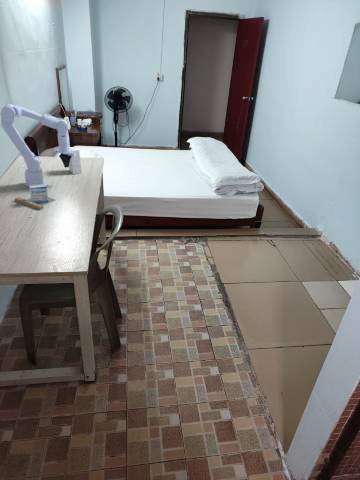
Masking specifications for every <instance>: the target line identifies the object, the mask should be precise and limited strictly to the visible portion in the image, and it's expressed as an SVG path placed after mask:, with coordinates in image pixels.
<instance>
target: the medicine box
mask: <svg viewBox="0 0 360 480" xmlns="http://www.w3.org/2000/svg"><path fill="white" fill-rule="evenodd" d="M46 184H47V183H46ZM46 184H39V185H29V186H28V187H29V188H28V189H29V191H30V198H31V200H32V202H34V203H36V204H37V203H44V202H49V200H48V197H49V194H48V188H47V185H46Z"/></svg>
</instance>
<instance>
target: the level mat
mask: <svg viewBox="0 0 360 480" xmlns="http://www.w3.org/2000/svg"><path fill="white" fill-rule="evenodd" d="M48 200H49V202H44V203H37V204H36V203H34V202H32V200H31V197H30V198H27V199H25V198H22V197H19V196H18V197H17V196H16V197H15V198H14V201H15V202H17V203H20V204H23V205H25V206H28V207H31V208H34V209H37V210H40V211H42V210H43V209H44V206H46V205H48V204H50V203H52V202H54V201H56V199H54V198H51V197H49V196H48Z"/></svg>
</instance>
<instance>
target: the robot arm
mask: <svg viewBox="0 0 360 480" xmlns="http://www.w3.org/2000/svg"><path fill="white" fill-rule="evenodd" d="M16 117H17V118H21V117H26V118H29V119H33V120H36V121H39V122H41V125H43V126H46V127H49V128H51V129H56V130H57V142H58V148H57V147H55V148H54V149H53V150H54V153H57V154H59V155H58V157H59V158H60V160H61V162H62V163H63V167H64V168H65V169H66V168H69V162H70V159H71V157H76V153H74V152H72V151H71V150H70V148H71V146H70V135H69V130H68V129H69V125H68V121H66V120H65V119H64V118H60V117H56V116H53V115H51V114H50V113H43V114H40V113H38V112H36V111H33V110H31V109H29V108H26V107H24V106H21V105H19V104H14V103H11V102H8V103H6V104H5V105H4V106H3V107H2V109H1V110H0V121H1V123H0V124H1V127H2V129H3V131H4V132H5V133H6V135H7V136H8V138H9V139H10V140H11V142H12V143H13V145H14V146H15V148H16V150H18V151H19V154H21V156H22V157H23V160H24V162H25V164H26V168H27V169H25V171H24V179H25V184H24V185H25V186H27V187H29V185H39V184H46V186H48V183H46V182H44V176H43V175H44V174H43V170H42V169H43V168H41V164H42V163H41V159H40V157H38V156H37V155H35V153H34V152H32V151H31V149H30V148H29V146H28V145H27V143H26V142H25V141H24V139H23V138H22V135H21V134H20V133H19V132H18V130H17V129H16V127H15V126H14V121H15V118H16Z"/></svg>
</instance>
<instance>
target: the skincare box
mask: <svg viewBox="0 0 360 480" xmlns="http://www.w3.org/2000/svg"><path fill="white" fill-rule="evenodd" d="M70 150H71V151H72V152H74V153H76V157H71V159H70V162H69V167H68V169H69V172H70V173H72V174H73V175H78V174H79V175H80V174H83V169H82V162H81V161H82V160H81V156H80V155H81V154H80V149H79V148H77V147H70Z"/></svg>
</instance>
